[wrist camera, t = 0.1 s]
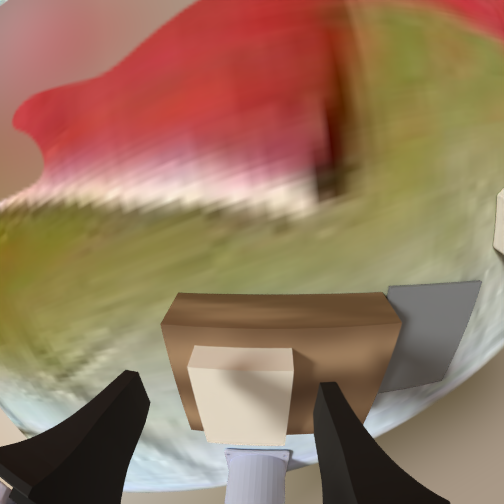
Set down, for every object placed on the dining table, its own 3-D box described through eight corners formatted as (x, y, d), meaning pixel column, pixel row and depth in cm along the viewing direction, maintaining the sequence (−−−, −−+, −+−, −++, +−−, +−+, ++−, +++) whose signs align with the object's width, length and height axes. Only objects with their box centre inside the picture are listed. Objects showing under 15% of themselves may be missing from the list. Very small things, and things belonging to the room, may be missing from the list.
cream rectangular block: (284, 426, 19) (284, 445, 18) (211, 423, 20) (207, 442, 18) (291, 348, 16) (293, 370, 14) (194, 345, 17) (187, 366, 15)
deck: (353, 397, 23) (361, 428, 20) (199, 397, 24) (191, 429, 20) (381, 292, 19) (402, 322, 15) (178, 292, 20) (160, 324, 16)
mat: (440, 378, 22) (441, 380, 22) (359, 393, 23) (359, 395, 23) (480, 280, 18) (481, 281, 18) (389, 285, 19) (390, 287, 18)
